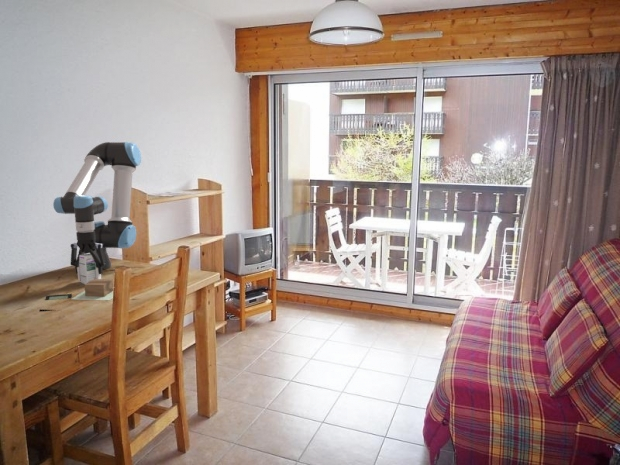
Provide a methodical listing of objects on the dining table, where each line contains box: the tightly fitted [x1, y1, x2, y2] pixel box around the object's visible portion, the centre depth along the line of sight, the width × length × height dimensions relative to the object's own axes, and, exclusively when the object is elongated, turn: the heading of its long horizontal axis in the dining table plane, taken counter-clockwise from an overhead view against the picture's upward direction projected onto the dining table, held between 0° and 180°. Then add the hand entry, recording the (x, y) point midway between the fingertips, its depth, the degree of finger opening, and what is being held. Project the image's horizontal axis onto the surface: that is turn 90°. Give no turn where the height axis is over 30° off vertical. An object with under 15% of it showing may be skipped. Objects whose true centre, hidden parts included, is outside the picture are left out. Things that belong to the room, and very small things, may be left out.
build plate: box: [71, 290, 114, 301], centre depth 200 cm, size 16×16×2 cm
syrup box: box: [79, 253, 97, 284], centre depth 214 cm, size 6×6×14 cm
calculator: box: [38, 293, 73, 312], centre depth 189 cm, size 9×12×3 cm
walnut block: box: [84, 278, 114, 297], centre depth 199 cm, size 8×8×5 cm
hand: (89, 280), depth 215 cm, fingers closed on syrup box, 8 cm apart
